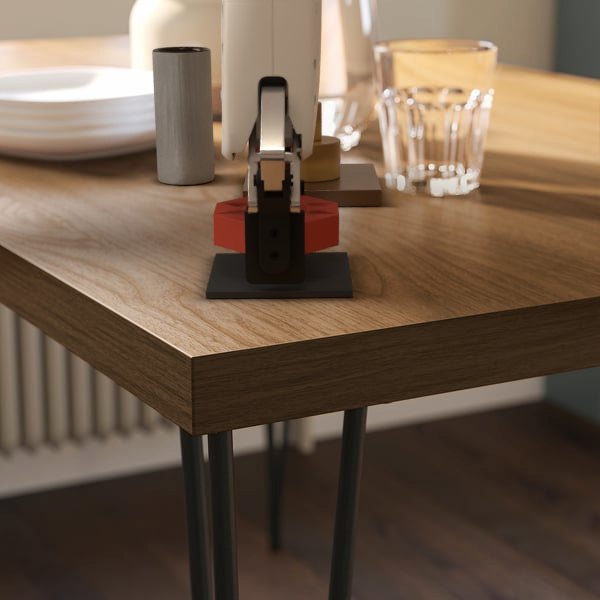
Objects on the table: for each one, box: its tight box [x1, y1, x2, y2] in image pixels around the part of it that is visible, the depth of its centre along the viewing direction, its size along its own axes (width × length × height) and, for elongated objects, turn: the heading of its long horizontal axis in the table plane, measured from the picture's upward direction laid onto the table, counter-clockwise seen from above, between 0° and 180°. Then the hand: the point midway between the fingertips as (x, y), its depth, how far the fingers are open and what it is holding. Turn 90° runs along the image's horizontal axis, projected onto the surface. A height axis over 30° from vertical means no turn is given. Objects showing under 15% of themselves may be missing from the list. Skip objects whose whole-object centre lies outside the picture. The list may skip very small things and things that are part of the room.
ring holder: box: [242, 100, 383, 207], centre depth 89 cm, size 10×10×7 cm
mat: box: [205, 251, 354, 299], centre depth 68 cm, size 8×8×1 cm
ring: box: [212, 195, 340, 254], centre depth 67 cm, size 7×7×2 cm
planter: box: [151, 46, 215, 186], centre depth 93 cm, size 4×4×10 cm
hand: (276, 260), depth 67 cm, fingers closed on ring, 7 cm apart
